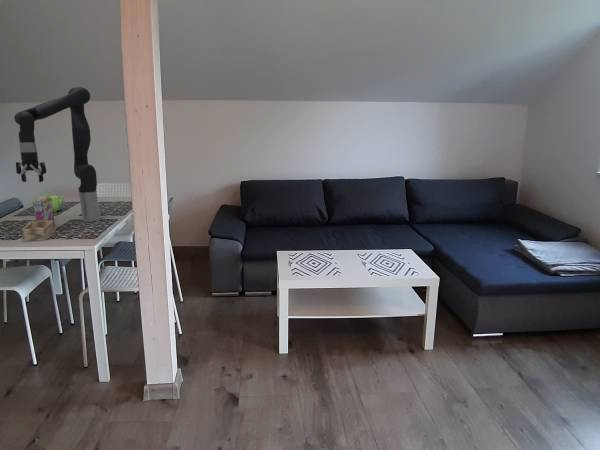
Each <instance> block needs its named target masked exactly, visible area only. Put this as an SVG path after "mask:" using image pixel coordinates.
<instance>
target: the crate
mask: <svg viewBox="0 0 600 450" xmlns="http://www.w3.org/2000/svg"><path fill="white" fill-rule="evenodd" d="M54 222H55V221H54ZM54 222H53V220H52V221H37V222H36V221H29V222H28V223H27V224H26V225H24V227H22V228H21V229H20V234H21V239H22V242H23V243H25V242H35V241H36V242H37V241H38V242H39V241H47V240H49V239H50V237H52V235H53V234H54V233H55V230H56V229H55V226H54Z"/></svg>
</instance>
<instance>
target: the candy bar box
mask: <svg viewBox="0 0 600 450" xmlns="http://www.w3.org/2000/svg"><path fill="white" fill-rule="evenodd" d="M38 199H39V198H38ZM38 199H36V200H34V201H32V202H33V204H32V205H33V211H34V219H35V222H37V221H52V220H53V222H54V227H55V226H56V224H55V216H54V215H55V214H54V213H53V207H52V199H51V198H41V199H39V200H38Z"/></svg>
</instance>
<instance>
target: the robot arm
mask: <svg viewBox="0 0 600 450" xmlns="http://www.w3.org/2000/svg"><path fill="white" fill-rule="evenodd" d="M90 100H91V94H90V91H89V90H88V89H86V88H85V87H82V86H76V87H72V88H70V89H69V90H68V93H67V94H66V95H64V96H61V97H58V98H55V99H51V100H48V101H46V102H45V101H44V102H42V103H40V104H37V105H36V106H33V107H30V108H26V109H25V110H20V111H18V112H16V114H15V115H14V116H13V117H14V122H15V123H16V124H17V125H19V131H18V141H19V152H20V160H21V161H18V162H15V168H16V169H15V170H16V174H17V175H20V178H21V181H22V182H23V183H26V182H27V176H26V175H27V174H26V173H27V172H28V171H32V172H33V171H34V172H36V173H37V175H38V182H39V183H42V182H43V181H44V180H45V179H44V174H47V168H46V163H45V162H44V161H43V162H39V156H38V147H37V144H36V139H35V122H37V121H39V120H43V119H45V118H49V117H51V116H54V115H55V114H57V113H60V112H62V111H64V110H67V109H69V110H70V120H71V133H72V144H73V153H74V154H73V158H74V159H73V163H74V164H73V172H74V175H75V177H76V178H78V179H79V180H80V186H79V187H78V194H79V195H78V196H79V202H80V210H81V217H82V218H81V219H82V222H86V223H91V222H92V223H93V222H98V221H100V220H101V210H100V203H99V202H98V201H99V200H98V195H97V194H98V193H97V187H98V182H97V181H98V180H97V171H96V168H95V166H93V165H92V164H89V161H88V160H89V159H88V153H89V149H90V146H91V139H92V138H91V137H92V136H91V129H90V128H91V127H90V126H89V125H90V124H89V122H88V119H87V117H86V114H85V104H87V103H89V102H90ZM22 167H23V168H22Z"/></svg>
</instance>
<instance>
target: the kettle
mask: <svg viewBox="0 0 600 450" xmlns="http://www.w3.org/2000/svg"><path fill="white" fill-rule="evenodd" d="M65 197H67V195H61V196H60V197H59V195H51V194H45V196H39V197H38V199H37V200H39V199H41V198H51V199H52V207H53V212H56V213H58V211H60V209H61V205H62V204H63V202H64V198H65ZM59 198H60V199H59ZM33 201H35V200H33ZM33 201H32V202H31V204H32V205H33ZM57 210H58V211H57Z"/></svg>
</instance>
